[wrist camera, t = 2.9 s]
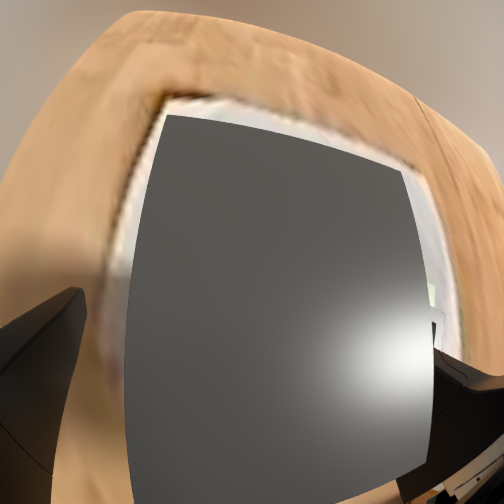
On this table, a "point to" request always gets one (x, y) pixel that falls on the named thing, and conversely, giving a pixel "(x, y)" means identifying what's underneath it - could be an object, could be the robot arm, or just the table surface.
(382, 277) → the plug
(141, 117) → the table surface
